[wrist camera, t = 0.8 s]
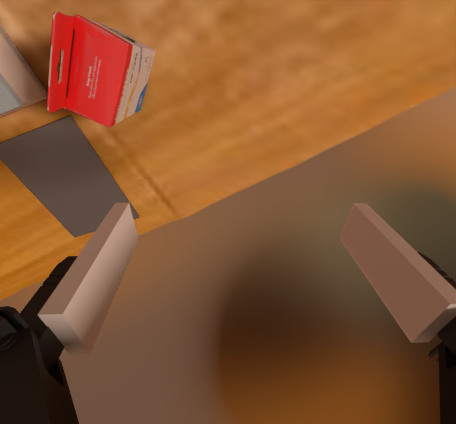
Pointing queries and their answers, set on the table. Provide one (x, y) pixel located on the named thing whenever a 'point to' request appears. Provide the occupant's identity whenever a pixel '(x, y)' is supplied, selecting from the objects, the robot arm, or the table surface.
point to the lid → (8, 97)
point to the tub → (19, 74)
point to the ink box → (96, 70)
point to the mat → (64, 175)
